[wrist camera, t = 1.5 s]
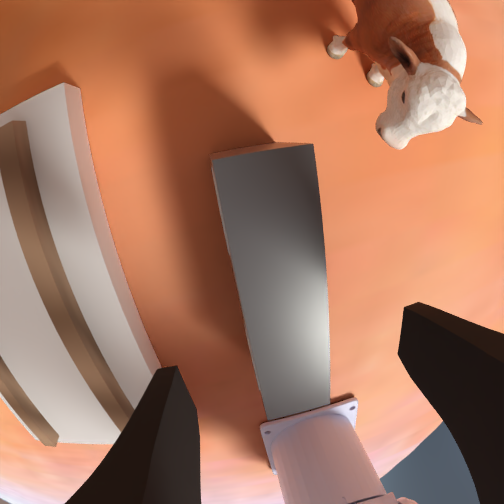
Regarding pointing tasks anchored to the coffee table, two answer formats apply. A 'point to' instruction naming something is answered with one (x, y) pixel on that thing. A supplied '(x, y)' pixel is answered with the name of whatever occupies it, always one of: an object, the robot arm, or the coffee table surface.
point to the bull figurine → (411, 64)
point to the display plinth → (63, 283)
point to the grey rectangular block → (278, 269)
